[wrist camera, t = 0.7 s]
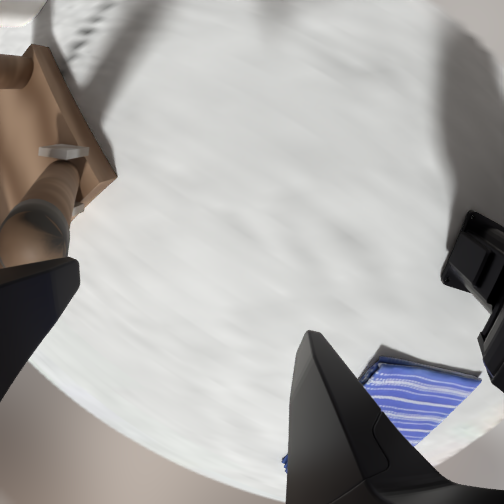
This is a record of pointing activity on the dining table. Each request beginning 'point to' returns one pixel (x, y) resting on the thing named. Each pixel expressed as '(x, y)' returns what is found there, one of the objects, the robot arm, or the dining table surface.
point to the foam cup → (19, 12)
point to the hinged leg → (41, 218)
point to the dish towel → (415, 394)
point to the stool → (43, 131)
